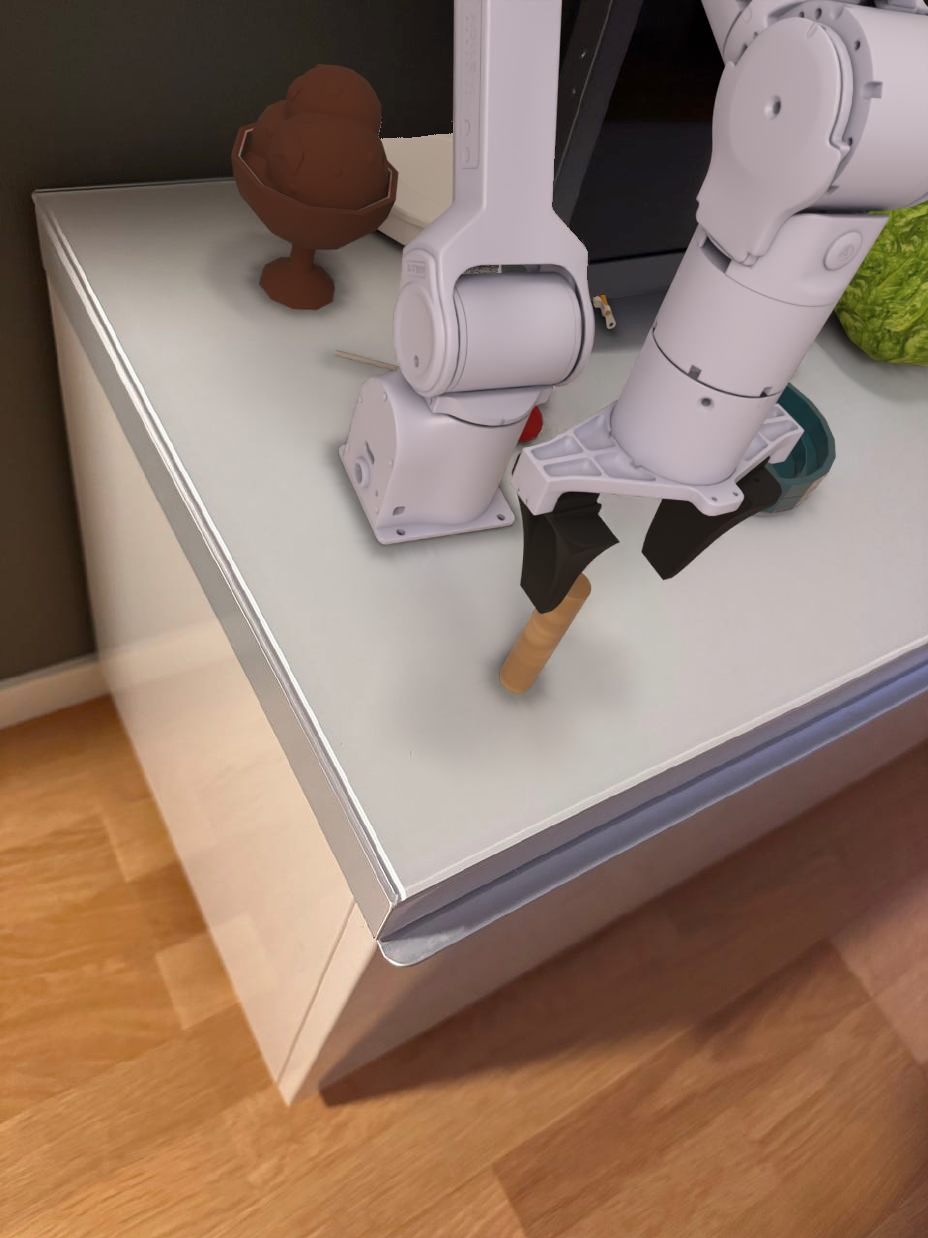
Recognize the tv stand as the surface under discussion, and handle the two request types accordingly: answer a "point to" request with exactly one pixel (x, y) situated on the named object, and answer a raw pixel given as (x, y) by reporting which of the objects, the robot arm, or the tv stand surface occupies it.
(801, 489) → the bowl
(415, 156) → the lid
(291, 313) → the tv stand surface
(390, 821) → the tv stand surface
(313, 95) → the ice cream bowl
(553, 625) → the stirring stick
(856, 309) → the lettuce
